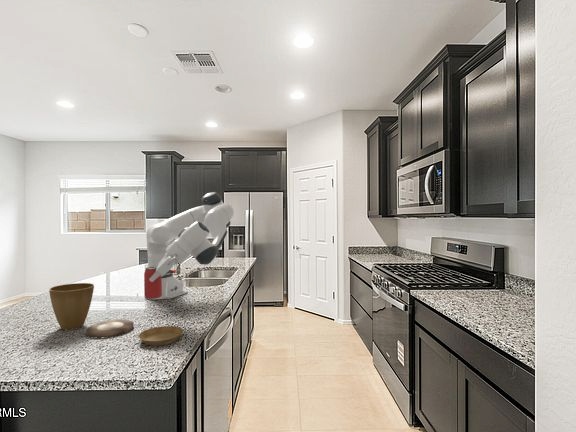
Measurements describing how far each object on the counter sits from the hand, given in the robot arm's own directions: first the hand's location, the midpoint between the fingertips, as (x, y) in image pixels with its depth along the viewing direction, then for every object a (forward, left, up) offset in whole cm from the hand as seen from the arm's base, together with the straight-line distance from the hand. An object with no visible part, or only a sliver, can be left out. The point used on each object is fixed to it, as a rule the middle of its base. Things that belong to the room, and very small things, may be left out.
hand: (151, 278), depth 135 cm
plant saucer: (+10, +19, -18) cm, 28 cm away
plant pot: (+18, -24, -18) cm, 35 cm away
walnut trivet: (+13, -7, -18) cm, 23 cm away
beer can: (0, 0, -8) cm, 8 cm away
